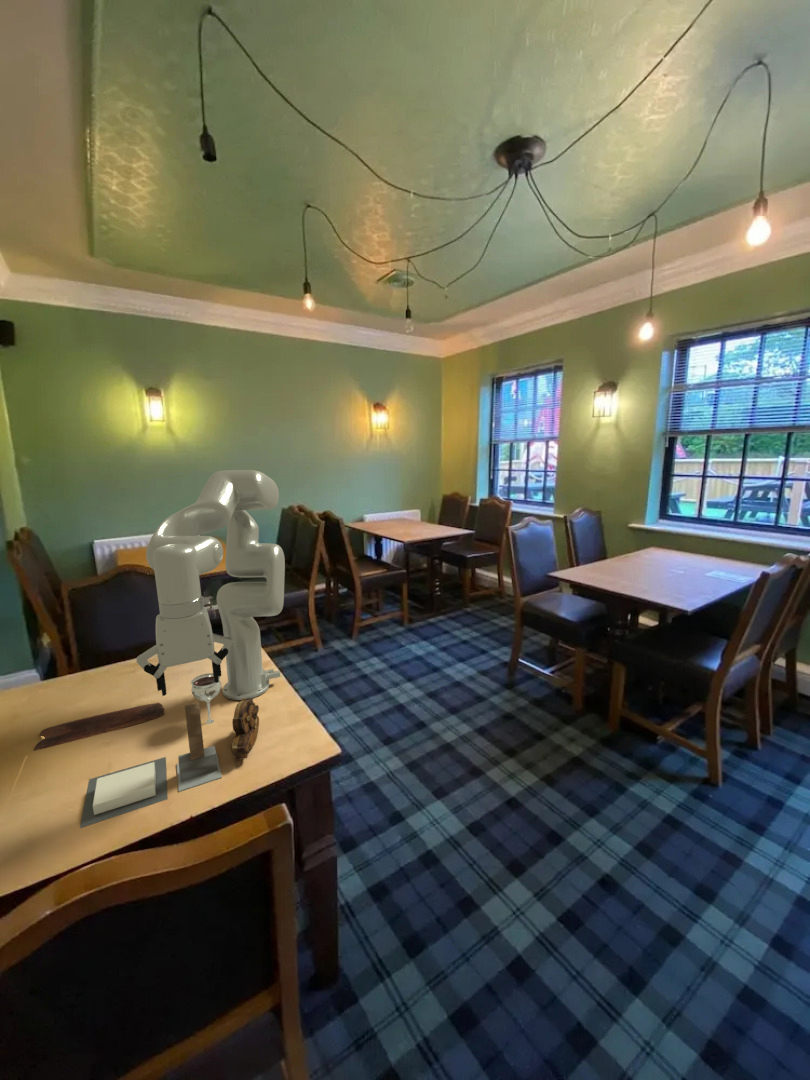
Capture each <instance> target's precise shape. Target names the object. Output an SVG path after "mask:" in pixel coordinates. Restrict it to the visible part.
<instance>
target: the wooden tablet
mask: <svg viewBox="0 0 810 1080" xmlns="http://www.w3.org/2000/svg"><path fill="white" fill-rule="evenodd" d="M164 714H165V708H164V707H163V704H161V703H160V702H154V703H149V704H143V705H138V706H137V705H136V706H133V707H129V708H124V709H119V710H114V711H111V712H106V713H102V714H97V715H93V716H87V717H84V718H83V717H82V718H80V719H76V720H71V721H67V722H64V723H61V724H60V723H59V724H56V725H53V726H50V727H47V728H44V729H42V730H41V731H40V733H39V736H44V737H45V739H43V740H42V739H40V741H39V742H37V743H36V745H35V746H34V751H36V752H37V751H40V750H43V749H47V748H52V747H56V746H59V745H63V744H66V743H67V744H68V743H71V742H75V741H78V740H82V739H87V738H91V737H95V736H98V735H99V736H100V735H103V734H107V733H111V732H115V731H119V730H122V729H126V728H129V727H131V726H135V725H139V724H142V723H144V722H147V721H151V720H153V719H156V718H160V717H161V716H163V715H164Z"/></svg>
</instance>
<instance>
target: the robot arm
mask: <svg viewBox="0 0 810 1080" xmlns="http://www.w3.org/2000/svg"><path fill="white" fill-rule="evenodd" d="M279 499H280V491H279V488H278V485H277V484H276V482H275V480H273V479H272V478H271V477H269V476H268V475H267V474H265V473H263V472H261V471H258V470H255V469H226V470H224V469H223V470H219V471H215V472H214V473H212V474H211V475H210V476H209V477H208V480H207V481H206V483H205V485H204V487H203V488H202V490H201V492H200V494H199V496H198V497H197V499H196V501H195V502H194V503H192V504H190V505H188V506H186V507H183V508H182V509H180V510H179V511H177V512H174V513H173V514H171V515H169V516H167V517H165V519H164V520H163V521H162V522H160V523H159V525H158V526H157V527H156V530H155V531H153V532H154V533H153V534H152V536H151V538H150V540H149V542H148V544H147V547H146V552H145V553H146V554H145V557H146V561H147V564H148V565H149V567H150V568H151V569H152V570H153V571H154V577H155V578H154V579H155V586H156V592H157V601H158V608H159V614H157V615H156V617H155V643H156V644H155V645H153V646H152V647H150V648H149V649H147V650H146V651H144V652H143V653H141V654H139V655H138V656H137V657H136V663H137V665H138V666H140V667H141V668H142V670H143V671H144V672H145V673H148V674H149V675H152V676H153V677H154V678H155V680H156V687H157V691H158V692H160V691H161V695H162V697H164V696H166V695H167V683H166V677H165V671H166V669H167V668H170V667H175V666H181V665H185V664H188V663H189V664H190V663H193V662H198V661H203V660H207V659H208V660H210V661H211V665H212V668H211V669H212V673H213V677H214V681H215V682H216V683H218V682H219V679H218V677H219V676H220V677H221V676H222V668H221V664H222V662H223V660H224V659H225V663H226V675H227V682H226V683H225V684H224V686H223V688H222V694H223V696H224V697H225V698H226V699H229V700H234V701H241V700H242V698H250V697H251V698H252V699H254V698H256V697H259V696H261V695H262V694H264V693H265V692H267V690H268V689H269V688H268V687H270V680H271V679H272V680H273V679H278V678H280V677H281V672H280V670H274V668H271V669H266V670H265V669H264V668H263V658H262V657H263V656H262V655H263V654H262V642H261V630H260V627H259V625H258V622H257V621H256V620H255V619H254V618H255V617H257V618H258V617H274V616H278V615H279V614H280V613H281V612H282V610H283V609H284V601H285V576H286V575H285V574H286V573H285V572H286V565H285V562H286V561H285V560H286V558H285V554H284V551H283V548H282V547H281V546H280V545H279V544H276V543H270V542H269V543H268V542H267V543H265V542H264V543H260V542H259V533H260V531H259V530H260V528H259V525H258V524H257V522H256V521H255V519H254V518H253V517H252V516H251V515H250V513H249V512H248V511H270V510H273V509H275V508H276V507H277V505H279V502H280V501H279ZM225 526H226V543H225V544H226V545H225V570H226V573H227V574H228V575H229V576H231V577H234V578H265V579H266V581H236V582H228V583H226V584H223V585H222V586H221V587H220V588H219V589H218V590H217V592H216V593H217V595H216V604H217V608H218V609H217V610H218V612H219V615H220V616H219V617H220V619H221V624H222V631H223V632H222V633H223V635H219V634H216V633H213V629H212V623H211V621H210V615H209V612H208V609H207V607H205V606H206V605H207V604H208V605H209V604H211V600H210V596H207V597H206V596H203V595H202V591H201V582H200V581H201V580H200V575H203V574H205V573H209V572H212V571H213V570H215V569H216V568H217V567H218V566H219V565H220V564H221V562H222V560H223V558H224V547H223V545H222V543H221V541H219V540H218V538H216V537H214V536H210V535H205V534H209V533H212V532H215V531H218V530H220V529H222V528H225ZM215 643H217V644H222V647H221V648H220V650H219V651H218V652H217V651H215ZM155 655H157V659H158V661H157V664H155V665H154V664H153V663H150V662H149V659H151V658H153V657H154V656H155Z"/></svg>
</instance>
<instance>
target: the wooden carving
mask: <svg viewBox="0 0 810 1080" xmlns="http://www.w3.org/2000/svg"><path fill="white" fill-rule="evenodd" d="M259 709H260V707H259V705H258V704H256V702H254V700H253V698H251V697H250V698H242V700H239V702H238V703H237V704H236V706H235V708H234V713H233V718H232V729H233V732H234V734H235V735H234V737H233V740H232V743H231V744H232V746H231V752H232V753H233V755H234V757H235V760H236V761H241V760H243V759H247V758H248V756H249V751H250V749H253V747H254V746H255V744H256V741H257V738H258V733H259V727H260V726H259V725H260V717H259V715H258V713H259Z"/></svg>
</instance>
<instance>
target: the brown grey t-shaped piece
mask: <svg viewBox="0 0 810 1080" xmlns="http://www.w3.org/2000/svg"><path fill="white" fill-rule="evenodd" d="M200 710H201V709H200V703H199V702H193V703H189V704H185V705H184V711H185V712H184V713H185V721H186V730H187V739H188V748H189V752H187V753H184V754H180V755H178V757H177V758H178V763H179V770H180V779H181V782H182V781H185V780H189V779H192V778H195V777H198V776H201V775H205V774H208V773H211V772H214V771H217V770H218V768H217V758H216V752H217V751H216V746H215V745H212V746H211V745H210V746H209V747H204V737H203V728H202V721H201V719H202V718H201V711H200Z"/></svg>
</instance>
